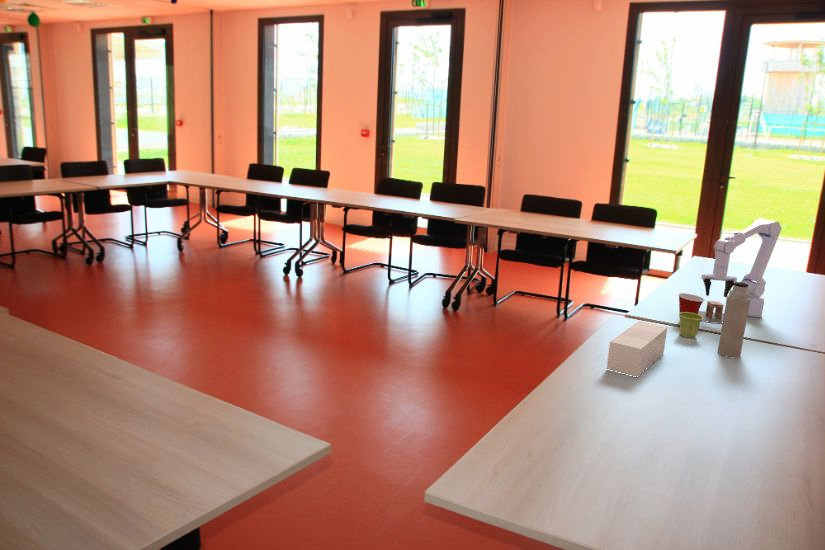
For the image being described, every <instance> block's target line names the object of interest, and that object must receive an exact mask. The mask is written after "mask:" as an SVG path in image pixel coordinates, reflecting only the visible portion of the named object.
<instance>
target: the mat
mask: <svg viewBox="0 0 825 550" xmlns="http://www.w3.org/2000/svg"><path fill="white" fill-rule="evenodd" d="M705 314H706V311H703V310H699V312H698V315H701V316H702V317H703V319H702V321H708V322H707V323H711V322H718V323H717V324H720V323H722V322H723V317H724V312H722V318H721V319H718V316H714V315H715V312H713V316H712V318H708V317H709V316H706V315H705ZM702 321H701V322H702Z"/></svg>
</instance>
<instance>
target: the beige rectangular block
mask: <svg viewBox="0 0 825 550" xmlns="http://www.w3.org/2000/svg"><path fill="white" fill-rule="evenodd" d="M667 332H668V326H664V325H659V324H654V323H650V322H646V321H641V320H638V321H637V322H635V323H634V324H632V325H631V326H630V327H628V328H627V329H626V330H624V331H623V332H621V333H620V334H618V335H617V336H616V337H614V338H613V339H612V340H611V341H609V347H608V355H607V360H606V362H607V363H606V369H610V370H613V371H617V372H621V373H625V374H628V375H632V376H636V377H637V376H639V375H640V374H641V373H642V372H643V371H644V370H645V369H646V368H648V367H649V366H650V365H651V364H652V363H653V362H654V363H655V362H657V361H658V359H660V358H661V357H662V356H663V355H664V354H665V347H666V339H667ZM663 353H664V354H663ZM662 354H663V355H662ZM661 355H662V356H661ZM660 356H661V357H660ZM659 357H660V358H659ZM654 363H653V364H654ZM653 364H652V365H653ZM652 365H651V366H652ZM651 366H650V367H651ZM650 367H649V368H650ZM649 368H648V369H649ZM606 369H605V370H606ZM646 370H647V369H646ZM646 370H645V371H646ZM645 371H644V372H645ZM644 372H643V373H644ZM643 373H642V374H643ZM642 374H641V375H642ZM641 375H640V376H641ZM640 376H639V377H640Z"/></svg>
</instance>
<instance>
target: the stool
mask: <svg viewBox="0 0 825 550" xmlns="http://www.w3.org/2000/svg"><path fill="white" fill-rule="evenodd" d="M724 306H725V305H724V304H723V302H721V301H717V300H714V301H713V300H707V302H706V309H705V312H706V314H705V315H706V316H709V317H708V318H712V316H713V313H715V315H714V316H718V319H721V318H722V313H724V311H723V310H724ZM714 309H715V311H714Z"/></svg>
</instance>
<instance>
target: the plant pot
mask: <svg viewBox="0 0 825 550" xmlns="http://www.w3.org/2000/svg"><path fill="white" fill-rule="evenodd" d="M678 316H679V335H680V336H681V337H683V338H687V339H691V338H693V339H694V338H696V337H697V335H698V330H699V327H700V324H701V322H702V319H703V317H702V316H701V315H698V314H695V313H690V312H681V313H678Z"/></svg>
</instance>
